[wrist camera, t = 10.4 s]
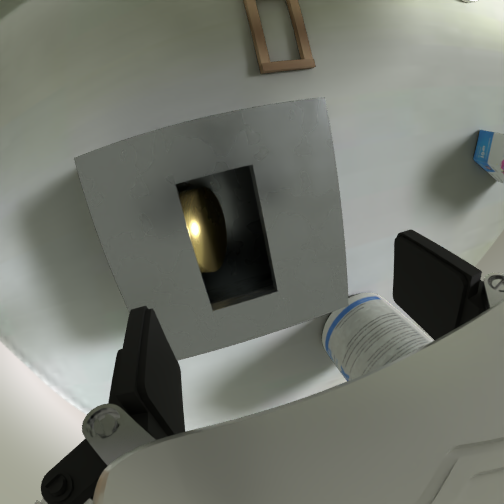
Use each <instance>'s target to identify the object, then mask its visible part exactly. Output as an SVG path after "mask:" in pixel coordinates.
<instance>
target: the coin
mask: <svg viewBox="0 0 504 504" xmlns="http://www.w3.org/2000/svg"><path fill="white" fill-rule="evenodd" d="M178 194H179V198H180V202H181V205H182V209H183V212H184V216H185V220H186V223H187V227H188V230H189V234H190V237H191V241H192V244H193V247H194V251H195V254H196V257H197V261H198V264H199V267H200V271H201V273H203V272H215V271H217V270H218V269H219V268H220V267H221V266H222V264H223V262H224V259H225V254H226V247H227V232H226V224H225V218H224V214H223V211H222V208H221V205H220V203H219V201H218V199H217V197H216V195H215V194H214V193H213V192H212V191H211V190H210V189H209V188H206V187H202V188H197V189H192V190H187V191H182V192H178Z"/></svg>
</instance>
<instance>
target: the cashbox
mask: <svg viewBox="0 0 504 504" xmlns="http://www.w3.org/2000/svg"><path fill="white" fill-rule="evenodd" d="M74 160H75V164H76V168H77V171H78V175H79V178H80V182H81V185H82V188H83V192H84V195H85V198H86V201H87V205H88V208H89V211H90V214H91V217H92V220H93V223H94V226H95V228H96V231H97V234H98V237H99V240H100V242H101V245H102V248H103V250H104V253H105V256H106V258H107V261H108V263H109V266H110V268H111V271H112V273H113V276H114V278H115V281H116V283H117V285H118V288H119V290H120V292H121V295H122V297H123V299H124V301H125V304H126V306H127V308H128V310H129V312H130V310H131V309H135V308H139V307H142V306H147V308H148V309H151V308H152V309H153V310H154V311H155V314H156V316H157V318H158V320H159V323H160V325H161V327H162V329H163V332H164V334H165V336H166V338H167V340H168V342H169V345H170V347H171V349H172V351H173V353H174V355H175V357H176V359H177V360H181V359H185V358H189V357H193V356H196V355H200V354H204V353H207V352H211V351H214V350H218V349H221V348H225V347H228V346H232V345H235V344H238V343H242V342H245V341H248V340H251V339H255V338H258V337H261V336H264V335H267V334H270V333H273V332H276V331H279V330H282V329H285V328H288V327H291V326H294V325H297V324H300V323H303V322H306V321H309V320H311V319H314V318H317V317H320V316H323V315H325V314H328V313H331V312H333V311H336V310H339V309H341V308H344V307H347V306H349V303H348V283H347V266H346V252H345V240H344V229H343V219H342V209H341V200H340V191H339V183H338V176H337V168H336V161H335V154H334V148H333V141H332V135H331V129H330V123H329V117H328V112H327V106H326V101H325V97H323V98H313V99H305V100H297V101H290V102H283V103H276V104H270V105H263V106H258V107H252V108H247V109H241V110H236V111H231V112H226V113H222V114H217V115H213V116H208V117H204V118H200V119H195V120H191V121H187V122H183V123H180V124H176V125H172V126H168V127H165V128H161V129H158V130H154V131H151V132H148V133H144V134H141V135H138V136H135V137H132V138H128V139H125V140H122V141H119V142H116V143H113V144H111V145H108V146H105V147H102V148H99V149H97V150H94V151H91V152H89V153H86V154H83V155H81V156H78V157H76V158H74ZM202 187H206V188H209V189H210V190H211V191H212V192H213V193H214V194H215V195H216V197H217V199H218V201H219V203H220V205H221V208H222V211H223V214H224V218H225V224H226V232H227V247H226V254H225V259H224V262H223V264H222V266H221V267H220V268H219V269H218V270H217V271H215V272H203V273H201V271H200V267H199V264H198V261H197V257H196V254H195V251H194V247H193V244H192V241H191V237H190V234H189V230H188V227H187V223H186V220H185V216H184V212H183V209H182V205H181V202H180V198H179V194H178V192H182V191H187V190H192V189H197V188H202Z"/></svg>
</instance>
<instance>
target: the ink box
mask: <svg viewBox="0 0 504 504" xmlns="http://www.w3.org/2000/svg"><path fill="white" fill-rule="evenodd" d="M473 160H474V161H475V162H476V163H478V164H479V165H480V166H481V167H482V168H483V169H484V170H486V171H487V172H488V173H489V174H490V175H491V176H492V177H493V178H494V179H495V180H496V181H498V182H501V183H504V134H500V133H495V132H489V131H484V130H480V132H479V137H478V141H477V146H476V150H475V154H474V158H473Z"/></svg>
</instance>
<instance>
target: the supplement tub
mask: <svg viewBox="0 0 504 504" xmlns="http://www.w3.org/2000/svg"><path fill="white" fill-rule="evenodd" d="M348 303H349V306H347V307H344V308H341V309H339V310H336V311H333V312H332V313H331V315H330V316H329V318H328V319H327V321H326V323H325V326H324V329H323V333H322V343H323V347H324V349H325V351H326V352H327V354H328V355H329V357H330V358H331V359H332V361H333V362H334V364H335V365H336V366H337V368H338V369H339V371H340V372H341V373H342V375H343V376H344V378H345V379H346V380H347V381H350V380H352V379H355V378H357V377H359V376H362V375H364V374H366V373H369V372H371V371H373V370H375V369H378V368H380V367H382V366H384V365H386V364H389V363H391V362H393V361H395V360H397V359H399V358H401V357H403V356H405V355H407V354H409V353H411V352H413V351H415V350H417V349H419V348H421V347H423V346H425V345H427V344H429V343H431V342H433V340H432V339H431V338H430V337H429V336H428V335H427V334H425V333H424V332H423V331H422V330H421V329H420V328H419V327H417V326H416V325H415V324H414V323H413V322H412V321H410V320H409V319H408V318H407V317H406V316H404V315H403V314H402V313H401V312H400V311H399V310H397V309H396V308H395V307H394V306H393V305H391V304H390V303H389V302H388V301H386V300H385V299H384V298H383V297H382V296H380V295H378V294H375V293H362V294H357V295H354V296H352V297H350V298H348Z"/></svg>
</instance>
